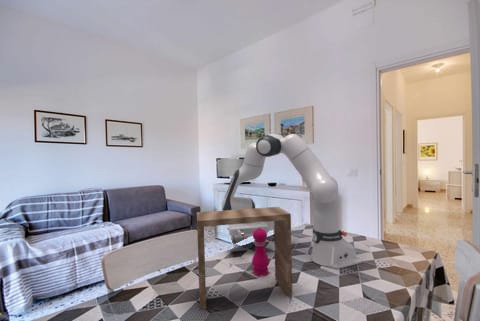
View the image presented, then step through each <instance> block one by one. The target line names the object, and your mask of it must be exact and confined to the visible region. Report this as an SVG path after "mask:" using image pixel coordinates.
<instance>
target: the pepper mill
mask: <svg viewBox="0 0 480 321" xmlns="http://www.w3.org/2000/svg"><path fill="white" fill-rule="evenodd" d="M252 237H253V240H254V241H253V244H254V245H255V251H254V254H253V257H252V260H251V264H252V266H253V270H252V272H253V274H254V275H256V276H259V277H261V276H262V277H263V276H267V275H268V273H269V268H268V266H269V264H270V259H269V257H268V253H266V245H267V240H266V239H267V238H268V233H266V231H265V230H264V229H262V226H260V225H259V226H258V229H256V230H255V231H254V232H253V234H252Z"/></svg>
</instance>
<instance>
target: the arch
mask: <svg viewBox="0 0 480 321" xmlns="http://www.w3.org/2000/svg"><path fill="white" fill-rule="evenodd" d="M255 222H265V223H266V222H274V223H273V229H274V230H273V232H274V272H275V273H274V275H275V276H274V277H275V278H274V279H275V281H276V283H277V284H278V286H279V287H280V289H281V290H282V293H284V295H285V296H286V297H288V298H289V297H293V271H292V270H293V264H292V262H293V261H292V259H293V258H292V256H293V255H292V254H293V253H292V216H291V213H290V212H288V211H287V210H285V209H283V208H282V207H280V206H272V207H259V208H258V207H255V208H253V209H239V210H224V211H223V210H215V211H214V210H211V211H198V212H196V225H197V226H196V227H197V228H196V230H197V232H196V233H197V258H198V259H197V263H198V293H199V294H198V295H199V310H204V309H205V310H206V309H207V294H206V293H207V290H206V289H207V287H206V282H207V281H206V258H205V257H206V256H205V253H206V251H205V248H206V247H205V227H216V226H230V225H234V224H243V223H255Z"/></svg>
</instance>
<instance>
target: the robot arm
mask: <svg viewBox="0 0 480 321" xmlns="http://www.w3.org/2000/svg"><path fill="white" fill-rule="evenodd" d="M280 154H283V155H285V157H287V159H288V160H289V162H290V163H291V165H293V167H294V168H295V170H296V171H297V172H298V174H299V175H300V177H301V178H302V180H303V182H304V183H305V184H306V187H307V188H308V190H309V191H310V193H311V194H312V196H313V211H312V212H313V228H312V241H313V242H312V243H313V244H312V250H311V255H310V260H311V261H312V262H313V263H315V264H317V265H321V266H323V267H329V268H333V269H336V270H337V269H339V270H340V269H343V268H347V267H350V266H354V265H358V264H362V263H363V260H362V258H361V257H360V256H359V255H357V252H356V249H355V246H353V245H352V243H351V242H349V241H348V240H346V239H345V237H347V236H348V232H346V231H343V230H340V227H339V226H340V225H339V224H340V223H339V222H340V220H339V216H340V214H339V184H338V181H337V180H336V179H335V178H334V177H333V176H331V175H330V173H329V172H328V170H327V169H326V168H325V166H324V165H323V164H322V162H321V161H320V159H319V158H318V157H317V155H316V154H315V153H314V152H313V150H312V149H311V148H310V147H309V145H308V144H307V143H306V142H305V141H304V140H303V139H302V138H301V137H300V136H299V135H298V134H296V133H290V134H287V135H286V136H285V135H283V134H282V133H269V134H265V135H262V136H260V137H259V138H258V139H257V140H256V142H251V143H250V144H249V145H248V146H247V148H246V150H245V155H244V157H243V163H242V165H241V166H240V168H238V169H236V170H235V171H234V173H233V175H232V178H231V180H230V183H229V186H228V188H227V191H226V193H225V195H224V198H223V199H222V201H221V211H224V210H239V209H253V208H256V204H255V202H254V200H253V198H251V197H241V196H235V194H236V192H237V189H238V187H239V185H240V184H242V183H245V182H249V181H254V180H256V179H257V178H259V177H260V176H261V175H262V172H263V170H264V167H265V166H264V165H265V161H266V158H269V157H274V156H277V155H280ZM259 225H260V226H262V229H264V230H265V231H266V233H267V234H268V233H269V232H270V231H269V230H270V229H269V228H270V227H269V225H268V224H267V223H266V222H255V223H243V224H231V225H228V226H227V227H226V229H227V231H228V233H229V234H228V235H229V236H232V237H233V236H239V237H245V236H247V235H253V232H254V231H255V230H256V229H258V226H259Z"/></svg>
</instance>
